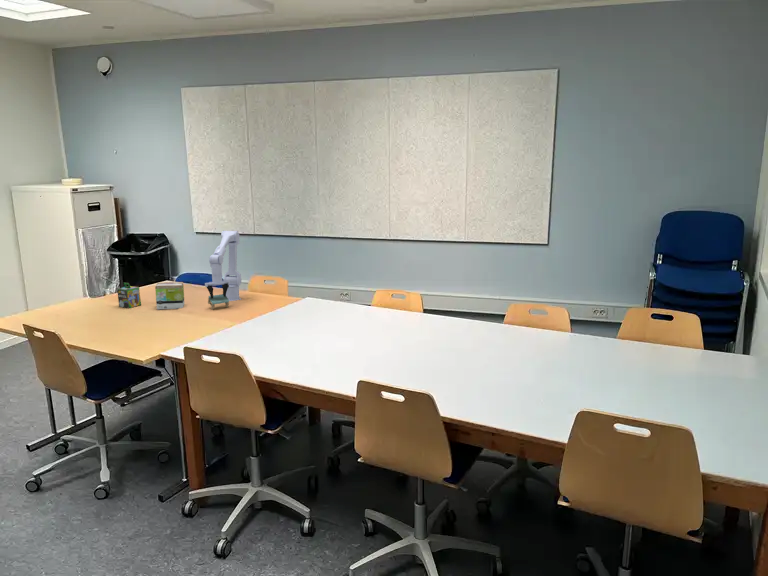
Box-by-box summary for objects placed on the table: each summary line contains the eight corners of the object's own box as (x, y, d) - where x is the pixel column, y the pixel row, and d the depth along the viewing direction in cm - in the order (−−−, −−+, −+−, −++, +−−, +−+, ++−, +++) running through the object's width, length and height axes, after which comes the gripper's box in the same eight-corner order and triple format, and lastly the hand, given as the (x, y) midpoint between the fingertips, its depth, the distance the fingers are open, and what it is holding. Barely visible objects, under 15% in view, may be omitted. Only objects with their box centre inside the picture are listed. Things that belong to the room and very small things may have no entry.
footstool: (207, 302, 338) (208, 296, 335) (223, 300, 344) (224, 293, 341) (212, 309, 333) (212, 302, 331) (228, 307, 339) (229, 300, 337)
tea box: (156, 310, 334) (154, 285, 331) (159, 306, 343) (157, 282, 340) (183, 308, 337) (181, 284, 334) (185, 304, 347) (183, 281, 344)
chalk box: (141, 305, 345) (139, 281, 342) (128, 308, 337) (126, 284, 334) (131, 303, 349) (128, 280, 346) (118, 306, 341) (115, 283, 338)
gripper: (207, 277, 326) (208, 299, 329) (231, 274, 335) (232, 296, 338) (203, 275, 332) (204, 297, 334) (226, 272, 340) (227, 294, 343)
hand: (218, 297), depth 336 cm, fingers open, 7 cm apart
